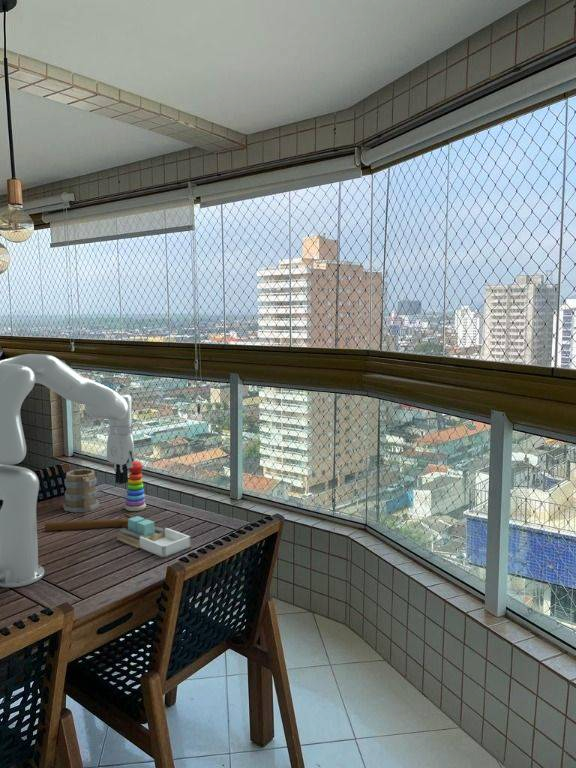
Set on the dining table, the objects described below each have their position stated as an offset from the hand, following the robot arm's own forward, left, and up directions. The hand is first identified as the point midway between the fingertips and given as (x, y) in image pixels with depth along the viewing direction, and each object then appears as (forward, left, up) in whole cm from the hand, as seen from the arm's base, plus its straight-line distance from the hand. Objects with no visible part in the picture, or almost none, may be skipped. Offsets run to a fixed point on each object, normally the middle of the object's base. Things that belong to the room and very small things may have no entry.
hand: (121, 482), depth 189 cm
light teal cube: (0, -13, -15) cm, 20 cm away
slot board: (0, -11, -17) cm, 20 cm away
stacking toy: (+17, +16, -17) cm, 29 cm away
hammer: (-5, +11, -18) cm, 21 cm away
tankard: (+3, +30, -17) cm, 35 cm away
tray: (0, -23, -17) cm, 29 cm away
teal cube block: (0, -8, -15) cm, 17 cm away
